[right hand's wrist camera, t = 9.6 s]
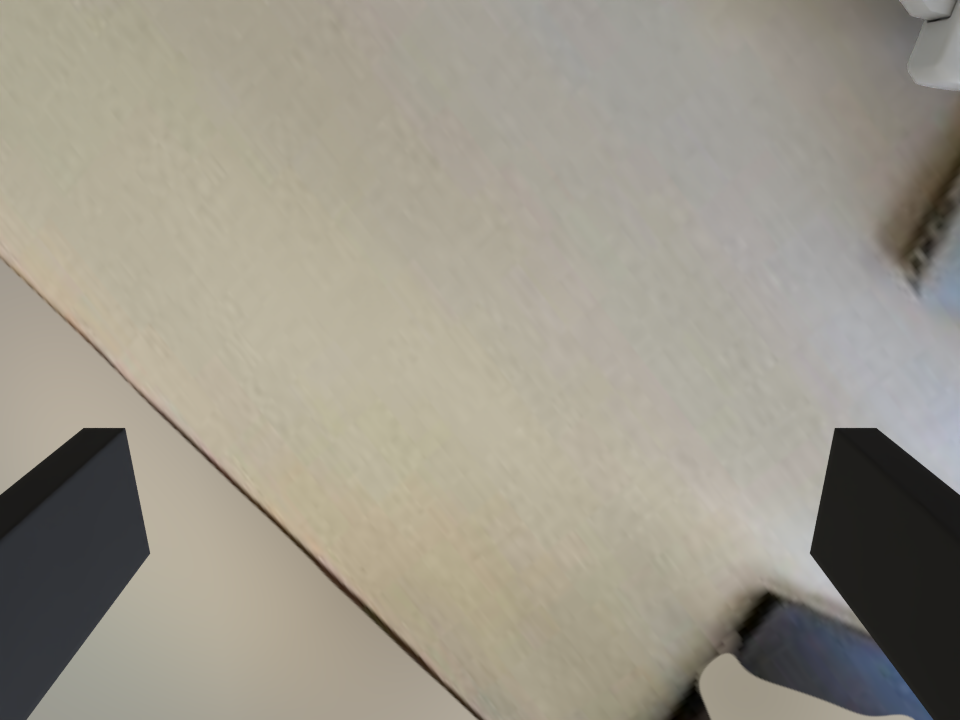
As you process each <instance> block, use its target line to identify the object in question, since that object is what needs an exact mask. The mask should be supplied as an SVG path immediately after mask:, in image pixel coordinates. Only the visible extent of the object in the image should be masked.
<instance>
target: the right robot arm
mask: <svg viewBox="0 0 960 720" xmlns="http://www.w3.org/2000/svg"><path fill="white" fill-rule="evenodd" d="M149 554H150V551H149V546H148V541H147V536H146V531H145V526H144V521H143V516H142V511H141V505H140V501H139V496H138V490H137V485H136V481H135V476H134V470H133V465H132V460H131V455H130V450H129V445H128V440H127V435H126V430H125V428H83V429H82V430H81V431H79V432H78V433H77V434H76V435H75V436H73V437H72V438H71V439H69V440H68V441H67V442H66V443H65V444H63V445H62V446H61V447H60V448H58V449H57V450H56V451H55V452H53V453H52V454H51V455H50V456H48V457H47V458H46V459H45V460H43V461H42V462H41V463H40V464H38V465H37V466H36V467H35V468H33V469H32V470H31V471H30V472H28V473H27V474H26V475H25V476H23V477H22V478H21V479H20V480H18V481H17V482H16V483H15V484H13V485H12V486H11V487H10V488H9V489H7V490H6V491H5V492H4V493H2V494H1V495H0V720H27V718H28V717H29V715H30V714H31V713H32V711H33V710H34V709H35V707H36V706H37V705H38V703H39V702H40V701H41V699H42V698H43V697H44V695H45V694H46V693H47V691H48V690H49V689H50V687H51V686H52V685H53V683H54V682H55V681H56V679H57V678H58V676H59V675H60V674H61V672H62V671H63V670H64V668H65V667H66V666H67V664H68V663H69V662H70V660H71V659H72V658H73V656H74V655H75V654H76V652H77V651H78V650H79V648H80V647H81V646H82V644H83V643H84V642H85V640H86V639H87V637H88V636H89V635H90V633H91V632H92V631H93V629H94V628H95V627H96V625H97V624H98V623H99V621H100V620H101V619H102V617H103V616H104V615H105V613H106V612H107V611H108V609H109V608H110V607H111V605H112V604H113V603H114V601H115V600H116V599H117V597H118V596H119V594H120V593H121V592H122V590H123V589H124V588H125V586H126V585H127V584H128V582H129V581H130V580H131V578H132V577H133V576H134V574H135V573H136V572H137V570H138V569H139V568H140V566H141V565H142V564H143V562H144V561H145V559H146V558H147V557H148V556H149ZM810 554H811V556H812V557H813V558H814V560H815V561H816V562H817V564H818V565H819V566H820V568H821V569H822V570H823V572H824V573H825V574H826V576H827V577H828V578H829V580H830V581H831V582H832V584H833V585H834V586H835V588H836V589H837V590H838V592H839V593H840V594H841V596H842V597H843V599H844V600H845V601H846V603H847V604H848V605H849V607H850V608H851V609H852V611H853V612H854V613H855V615H856V616H857V617H858V619H859V620H860V621H861V623H862V624H863V625H864V627H865V628H866V629H867V631H868V632H869V633H870V635H871V636H872V638H873V639H874V640H875V642H876V643H877V644H878V646H879V647H880V648H881V650H882V651H883V652H884V654H885V655H886V656H887V658H888V659H889V660H890V662H891V663H892V664H893V666H894V667H895V668H896V670H897V671H898V672H899V674H900V675H901V677H902V678H903V679H904V681H905V682H906V683H907V685H908V686H909V687H910V689H911V690H912V691H913V693H914V694H915V695H916V697H917V698H918V699H919V701H920V702H921V703H922V705H923V706H924V707H925V709H926V710H927V711H928V713H929V714H930V716H931V717H932V718H933V720H960V495H959V494H958V493H956V492H955V491H954V490H953V489H952V488H950V487H949V486H948V485H947V484H945V483H944V482H943V481H942V480H940V479H939V478H938V477H937V476H935V475H934V474H933V473H932V472H930V471H929V470H928V469H927V468H925V467H924V466H923V465H922V464H920V463H919V462H918V461H917V460H915V459H914V458H913V457H912V456H910V455H909V454H908V453H907V452H905V451H904V450H903V449H902V448H900V447H899V446H898V445H897V444H895V443H894V442H893V441H892V440H891V439H889V438H888V437H887V436H886V435H884V434H883V433H882V432H881V431H879V430H878V429H877V428H835V430H834V435H833V440H832V445H831V450H830V455H829V460H828V465H827V470H826V475H825V480H824V485H823V490H822V495H821V500H820V505H819V511H818V516H817V521H816V526H815V531H814V536H813V541H812V546H811V551H810Z"/></svg>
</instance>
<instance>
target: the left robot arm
mask: <svg viewBox="0 0 960 720" xmlns="http://www.w3.org/2000/svg"><path fill="white" fill-rule="evenodd" d="M899 1H900V2H901V4H902V5H903V6H904V8H905V9H906V10H907V12H908V13H909V14H910V16H913V17H917V18H921V19H925V20H924V23H923V25H922V28H921V31H920V33H919V36H918V38H917V41H916V43H915V46H914V48H913V51H912V53H911V56H910V58H909V61H908V63H907V70H908V72H909V74H910V76H911V77H912V79H913V80H914V82H915V83H916V84H918V85H922V86H926V87H932V88H938V89H945V90H956V91H960V0H899Z"/></svg>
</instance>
